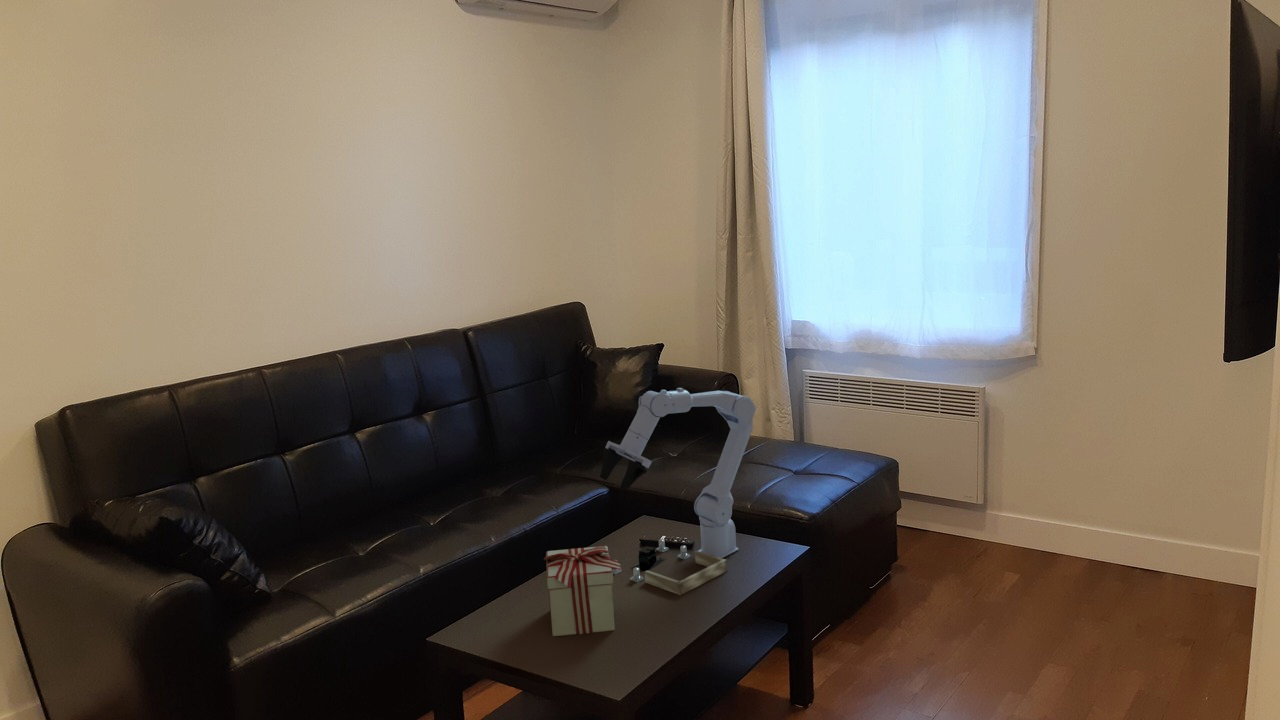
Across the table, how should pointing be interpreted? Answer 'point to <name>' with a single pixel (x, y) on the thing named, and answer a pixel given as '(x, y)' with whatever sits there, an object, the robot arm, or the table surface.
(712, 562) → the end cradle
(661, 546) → the guide pins
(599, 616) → the gift box
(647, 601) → the table surface
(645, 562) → the black boxy piece
